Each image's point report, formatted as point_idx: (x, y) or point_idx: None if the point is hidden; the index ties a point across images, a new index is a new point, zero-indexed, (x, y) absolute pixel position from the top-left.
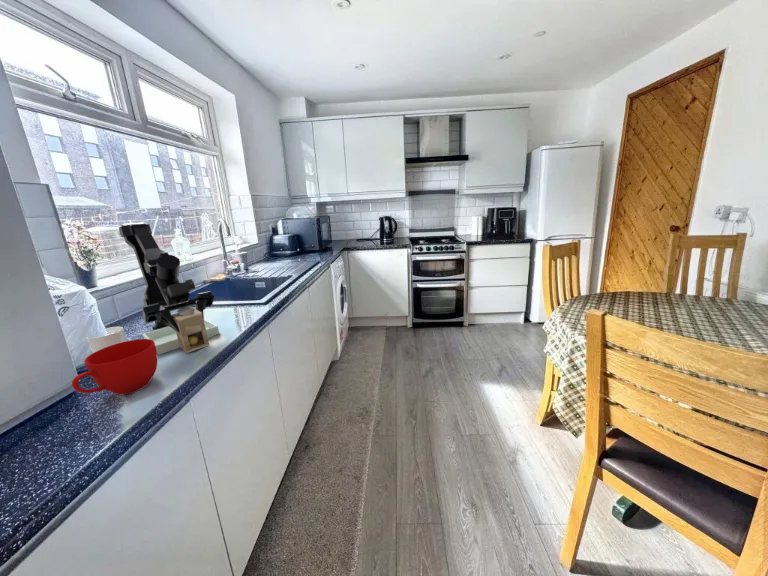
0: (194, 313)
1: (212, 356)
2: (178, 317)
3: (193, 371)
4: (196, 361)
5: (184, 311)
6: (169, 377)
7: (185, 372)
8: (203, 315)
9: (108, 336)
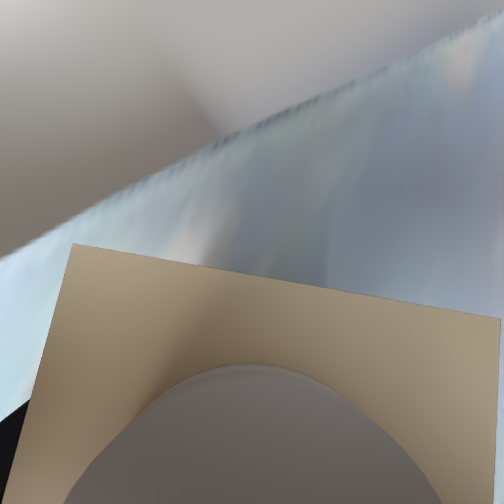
0: (169, 334)
1: (265, 136)
2: (455, 416)
3: (401, 75)
4: (342, 164)
5: (357, 412)
6: (492, 128)
7: (427, 103)
8: (24, 404)
9: None
